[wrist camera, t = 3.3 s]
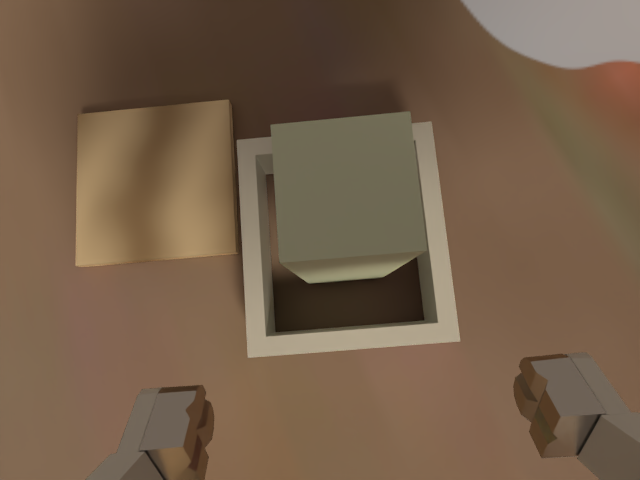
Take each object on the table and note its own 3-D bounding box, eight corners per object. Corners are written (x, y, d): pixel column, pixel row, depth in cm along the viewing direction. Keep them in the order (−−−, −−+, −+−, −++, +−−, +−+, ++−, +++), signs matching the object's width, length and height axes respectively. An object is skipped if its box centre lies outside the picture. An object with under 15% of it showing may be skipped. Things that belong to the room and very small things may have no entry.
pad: (231, 105, 27) (228, 99, 27) (239, 253, 26) (236, 252, 25) (85, 119, 28) (77, 114, 27) (83, 267, 26) (75, 265, 25)
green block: (374, 206, 26) (410, 111, 13) (382, 277, 25) (427, 250, 12) (303, 213, 26) (270, 124, 13) (309, 283, 25) (279, 263, 13)
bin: (419, 145, 26) (431, 121, 23) (443, 336, 25) (460, 341, 21) (249, 161, 27) (236, 139, 23) (260, 350, 25) (247, 357, 21)
